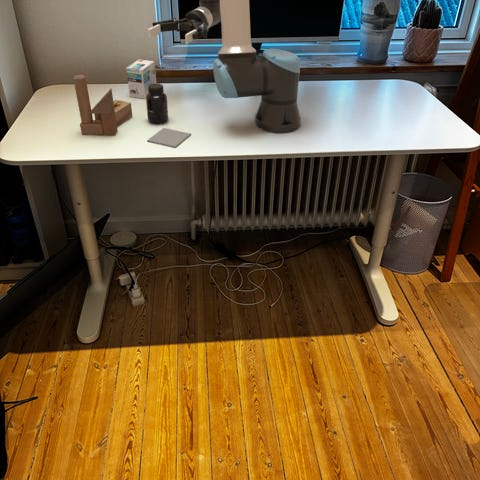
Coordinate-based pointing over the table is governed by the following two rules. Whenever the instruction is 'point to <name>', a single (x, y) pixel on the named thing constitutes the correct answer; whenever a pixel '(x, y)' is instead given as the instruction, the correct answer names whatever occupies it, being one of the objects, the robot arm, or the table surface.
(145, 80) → the light bulb box
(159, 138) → the felt pad
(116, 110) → the plane block
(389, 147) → the table surface
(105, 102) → the wooden block
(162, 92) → the supplement bottle
